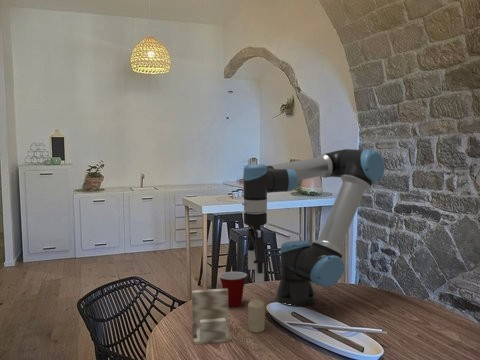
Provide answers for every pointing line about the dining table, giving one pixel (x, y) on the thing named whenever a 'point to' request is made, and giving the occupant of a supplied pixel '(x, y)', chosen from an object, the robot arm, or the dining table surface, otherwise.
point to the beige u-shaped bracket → (210, 316)
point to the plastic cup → (233, 286)
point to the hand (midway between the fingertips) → (255, 275)
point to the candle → (256, 316)
